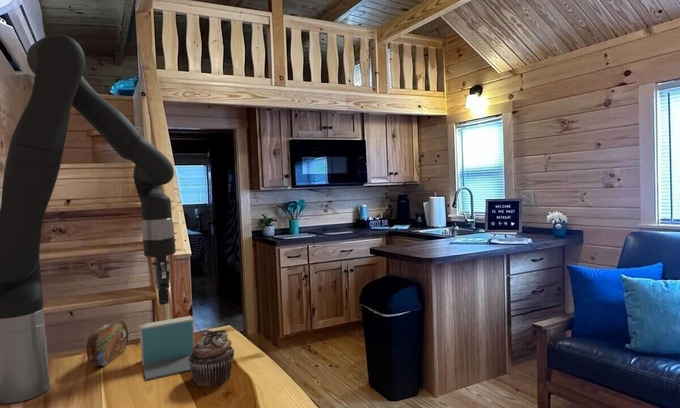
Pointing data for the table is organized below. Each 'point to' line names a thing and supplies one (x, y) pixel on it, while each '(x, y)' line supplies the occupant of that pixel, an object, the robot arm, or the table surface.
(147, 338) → the tile
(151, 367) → the mat
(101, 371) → the table surface
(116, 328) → the tin
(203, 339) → the cupcake
